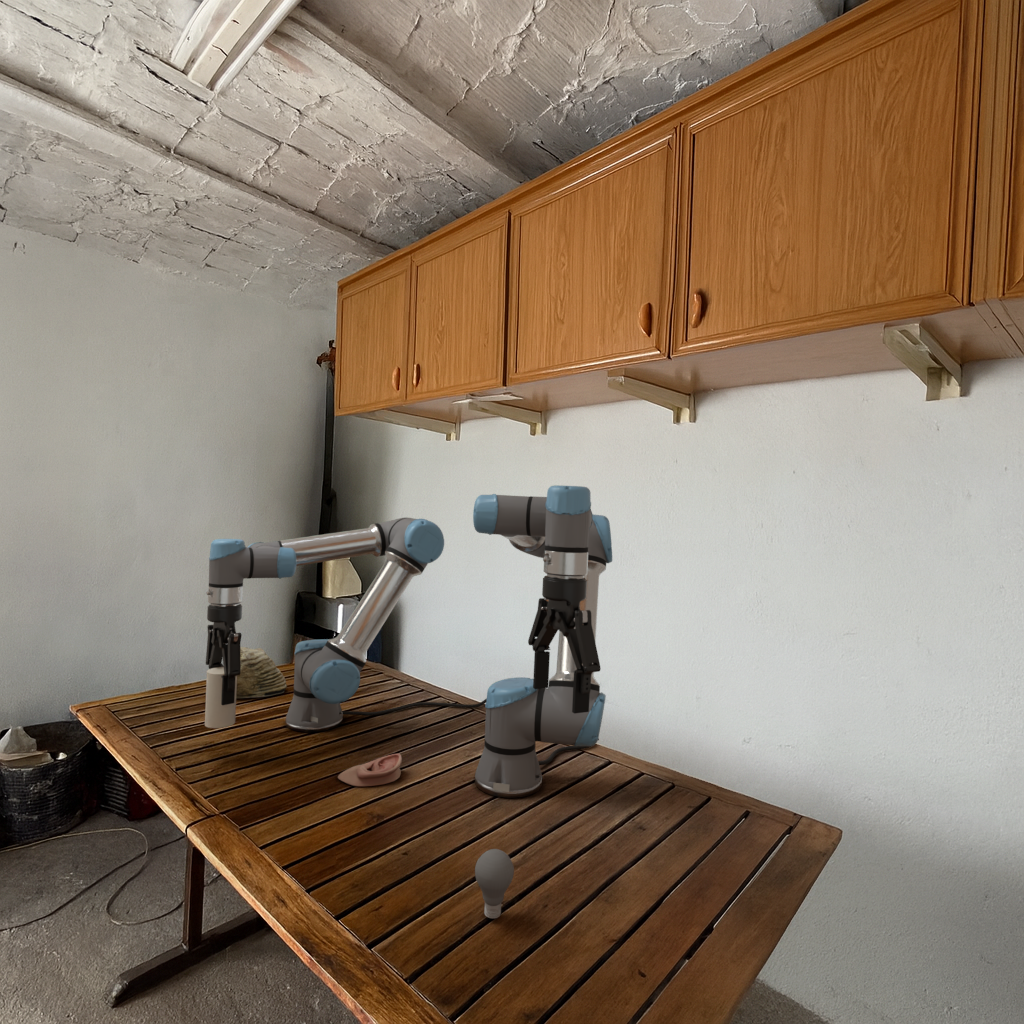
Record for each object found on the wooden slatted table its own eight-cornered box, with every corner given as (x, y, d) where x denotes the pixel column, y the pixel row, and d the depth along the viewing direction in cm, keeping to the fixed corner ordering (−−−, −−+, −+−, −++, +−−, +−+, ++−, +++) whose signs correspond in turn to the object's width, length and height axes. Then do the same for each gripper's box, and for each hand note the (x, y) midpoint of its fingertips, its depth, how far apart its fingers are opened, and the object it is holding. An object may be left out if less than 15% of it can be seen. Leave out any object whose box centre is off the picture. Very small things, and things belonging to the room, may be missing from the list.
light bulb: (472, 903, 100) (475, 841, 100) (510, 903, 101) (513, 841, 101) (473, 929, 94) (476, 863, 94) (513, 928, 95) (516, 862, 95)
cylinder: (211, 730, 147) (213, 675, 146) (200, 722, 151) (202, 669, 151) (239, 724, 151) (242, 670, 151) (228, 716, 156) (230, 665, 156)
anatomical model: (331, 765, 140) (354, 745, 151) (331, 782, 140) (354, 762, 151) (388, 772, 137) (407, 752, 148) (387, 791, 137) (406, 769, 148)
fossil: (218, 695, 195) (220, 647, 195) (278, 685, 208) (279, 640, 207) (228, 703, 189) (230, 653, 188) (289, 692, 201) (290, 645, 201)
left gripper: (192, 599, 155) (189, 693, 155) (226, 611, 141) (222, 714, 142) (223, 596, 160) (220, 687, 161) (259, 608, 147) (255, 707, 147)
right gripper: (513, 567, 118) (508, 681, 118) (585, 586, 95) (579, 726, 96) (548, 567, 121) (543, 677, 121) (626, 585, 99) (620, 721, 99)
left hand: (221, 699), depth 151 cm, fingers closed on cylinder, 7 cm apart
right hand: (559, 699), depth 109 cm, fingers open, 13 cm apart
